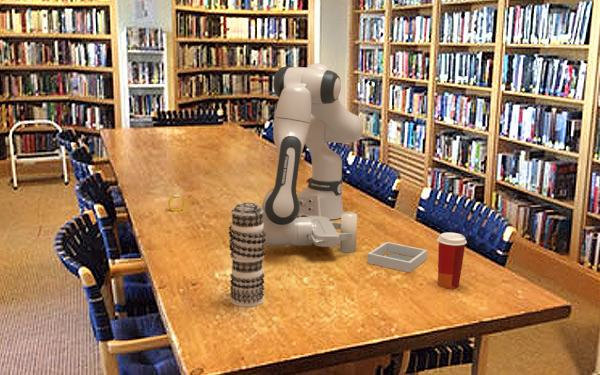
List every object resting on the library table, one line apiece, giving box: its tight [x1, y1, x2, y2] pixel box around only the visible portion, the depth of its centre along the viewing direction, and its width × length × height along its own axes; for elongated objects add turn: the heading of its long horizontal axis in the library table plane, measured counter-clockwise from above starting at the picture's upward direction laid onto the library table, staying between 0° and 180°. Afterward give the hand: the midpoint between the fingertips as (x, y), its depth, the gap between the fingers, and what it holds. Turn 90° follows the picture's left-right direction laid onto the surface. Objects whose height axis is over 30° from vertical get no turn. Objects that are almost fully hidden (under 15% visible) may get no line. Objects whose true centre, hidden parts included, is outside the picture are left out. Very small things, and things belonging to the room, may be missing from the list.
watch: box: [167, 194, 185, 212], centre depth 237 cm, size 6×3×6 cm, turn 112°
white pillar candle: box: [339, 211, 358, 254], centre depth 196 cm, size 5×5×12 cm
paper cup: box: [436, 232, 468, 290], centre depth 170 cm, size 8×8×14 cm
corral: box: [366, 241, 429, 274], centre depth 188 cm, size 14×14×3 cm
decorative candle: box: [228, 202, 266, 308], centre depth 155 cm, size 9×9×25 cm
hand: (348, 230), depth 196 cm, fingers open, 8 cm apart
